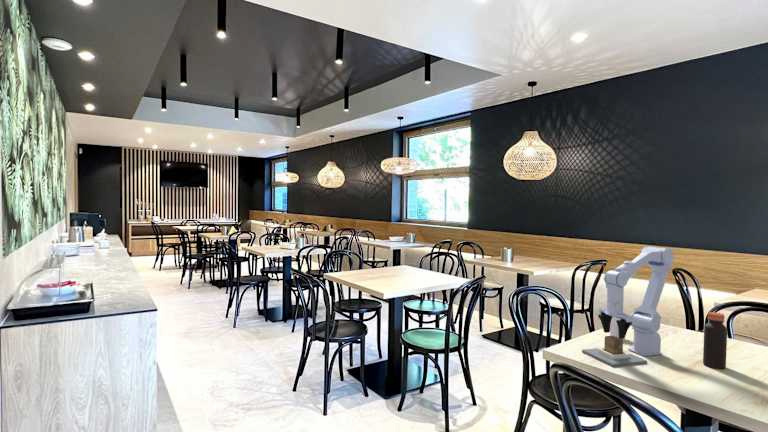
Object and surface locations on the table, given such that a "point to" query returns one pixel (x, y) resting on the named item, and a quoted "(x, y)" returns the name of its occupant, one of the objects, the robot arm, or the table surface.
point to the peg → (613, 345)
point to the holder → (614, 357)
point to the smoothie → (614, 327)
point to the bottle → (715, 341)
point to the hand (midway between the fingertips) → (614, 335)
